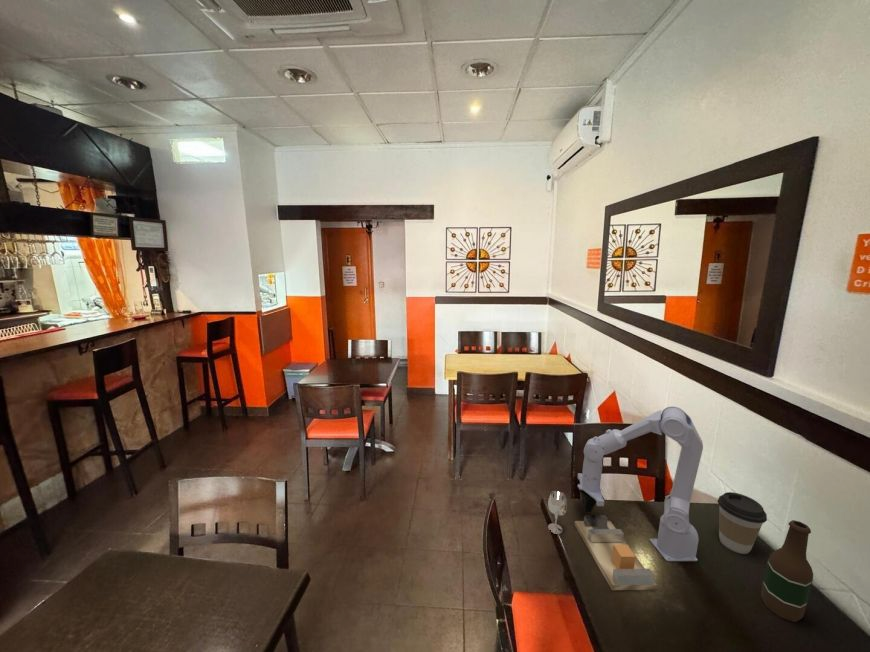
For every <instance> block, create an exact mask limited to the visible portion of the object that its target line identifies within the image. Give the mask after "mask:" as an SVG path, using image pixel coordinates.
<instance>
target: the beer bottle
mask: <svg viewBox="0 0 870 652" xmlns="http://www.w3.org/2000/svg"><path fill="white" fill-rule="evenodd" d="M788 525H789V527H788V531H787V533H786V536H785V539H784V542H783V544H782V545H781V547H780V548H778V549H775V550H773V551H772V552H771V553H770V554H769V557H768V559H767V563H766V567H765V572H764V576H763V580H762V586H761V590H760V598H761V600H762V602H763V604H764V606H765V607H766V608H767V609H768V610H769V611H771V612H772V613H773V614H775V615H776V616H778V617H779V618H781V619H784V620H786V621H789V622H793V623H797V622H798V621H800V620H801V619H803V618H804V615H805V613H806V608H807V605H808V602H809V597H810V593H811V589H812V586H813V582H814V571H813V567H812V566H811V564H810V563H809V561H808V559H807V550H808V542H809V535H810V534H811V533H812V530H811V528H810V527H809V526H808V525H807V524H806V523H804V522H801V521H799V520H795V519H794V520H793V519H792V520H790V521H789V522H788Z"/></svg>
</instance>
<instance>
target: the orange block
mask: <svg viewBox="0 0 870 652" xmlns="http://www.w3.org/2000/svg"><path fill="white" fill-rule="evenodd" d="M629 547H630V546H629V544H628V545H613V553H612V561H613V563H614V565H615V566H616V568H617V569H634V565H635V558H636V557H637V556H635V555H636V554H635V553H634V551H633V550H632V549H631V547H630V548H629ZM631 550H632V551H633V552H632V551H631ZM633 553H634V554H635V555H634V554H633Z"/></svg>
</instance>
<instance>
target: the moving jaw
mask: <svg viewBox="0 0 870 652" xmlns="http://www.w3.org/2000/svg"><path fill="white" fill-rule="evenodd" d="M583 521H584V524H585V526H592V527H593V529H589V531H588V538H589V540H590V542H623V539H624V540H625V538H624V536H625V533H624V532H623V530H622V529H620V528H616V529H609V528H608V527H607V522H608V521H609V518H608V516H607V515H606V514H591V515H590V514H587V515H586V514H585V515H584V516H583Z"/></svg>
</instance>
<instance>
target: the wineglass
mask: <svg viewBox="0 0 870 652" xmlns="http://www.w3.org/2000/svg"><path fill="white" fill-rule="evenodd" d="M547 508H548V510H549V511H550V513H551V514H553V515H554V523H553V522H552V523H549V524H548V526H547V528H548V530H549V531H550V530H551V531H550V532H551V533H553V534H557V535H560V534H562V533H563V528H562V526H561V525H559V524H557V521H558V518H559V517H560V516H563V515H565V514H566V512H567V509H568V501H567V496H566V495H565V493H564V492H561V491H559V490H553V491H551V492H550V495H549V497H548V501H547Z"/></svg>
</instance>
